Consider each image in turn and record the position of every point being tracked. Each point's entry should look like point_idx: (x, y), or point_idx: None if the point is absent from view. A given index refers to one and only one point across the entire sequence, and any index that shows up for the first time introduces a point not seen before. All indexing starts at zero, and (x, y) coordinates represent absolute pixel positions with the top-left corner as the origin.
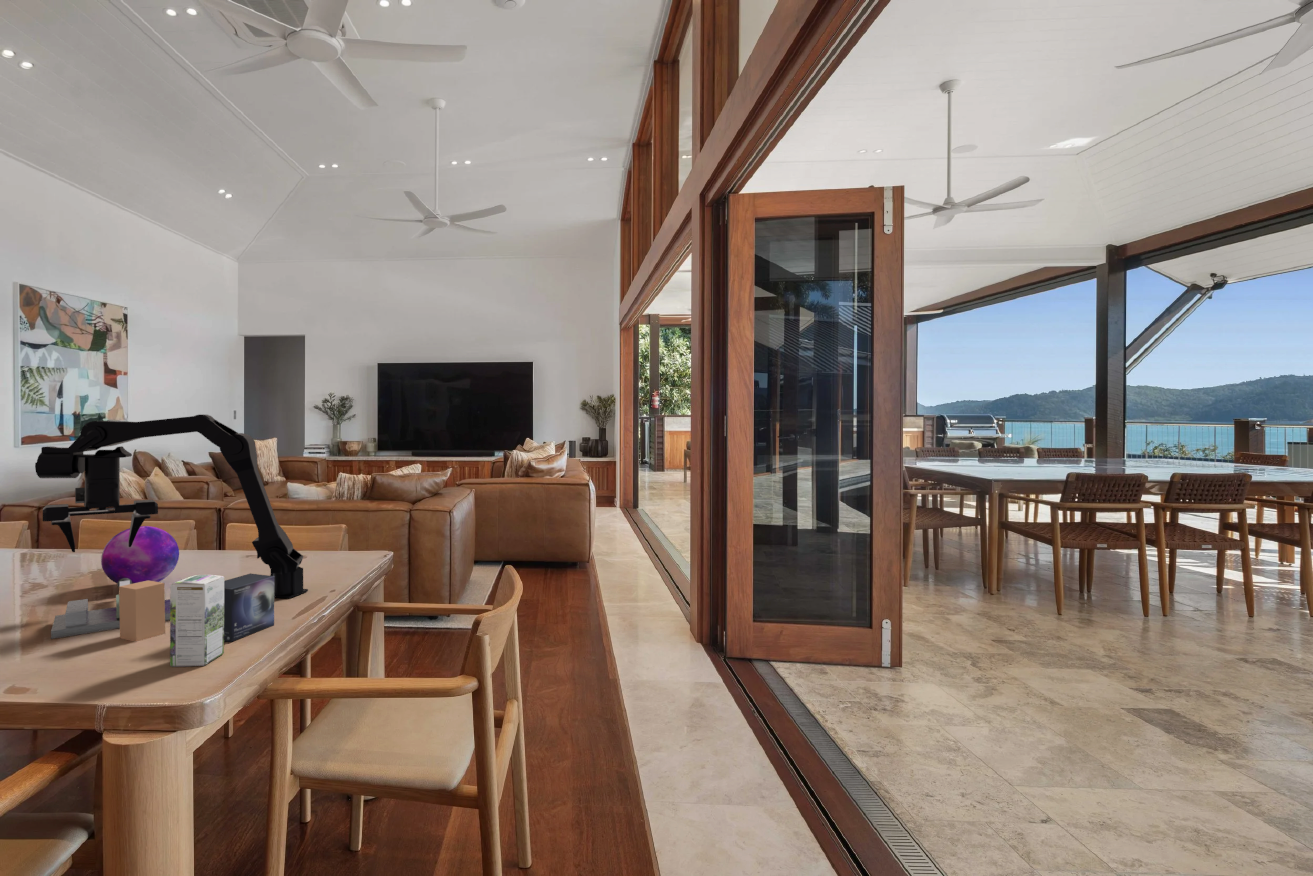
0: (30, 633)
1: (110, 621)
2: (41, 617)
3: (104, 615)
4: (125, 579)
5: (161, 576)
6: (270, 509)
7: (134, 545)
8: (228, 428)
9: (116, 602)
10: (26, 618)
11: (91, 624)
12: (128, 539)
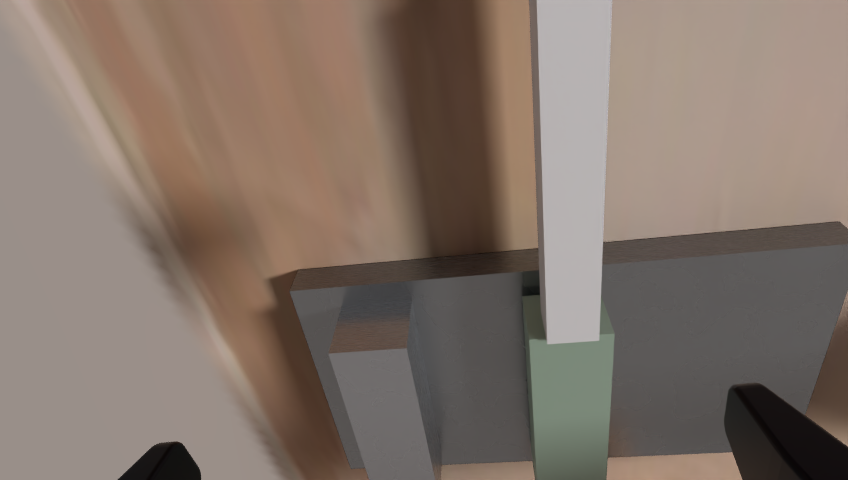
0: (262, 359)
1: (513, 457)
2: (188, 131)
3: (485, 380)
4: None
5: None
6: None
7: None
8: None
9: (536, 458)
10: (120, 112)
11: (458, 461)
12: (785, 474)
